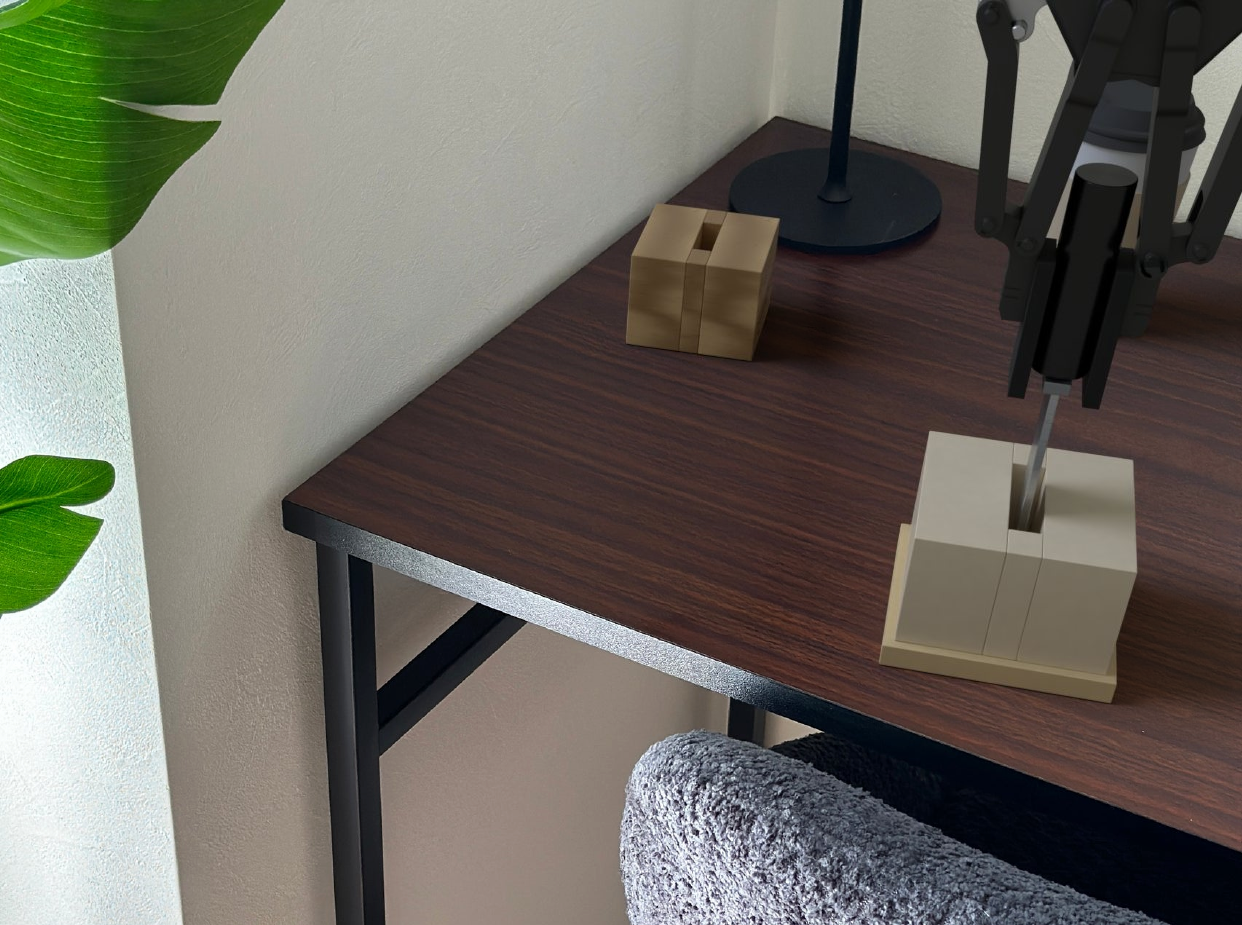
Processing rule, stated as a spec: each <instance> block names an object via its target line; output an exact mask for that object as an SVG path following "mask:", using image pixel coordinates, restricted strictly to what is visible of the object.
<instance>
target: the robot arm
mask: <svg viewBox="0 0 1242 925" xmlns="http://www.w3.org/2000/svg"><path fill="white" fill-rule="evenodd" d="M1045 6H1047V7H1048V9H1049V11H1050V14H1051V15H1052V17H1053V20H1054V22H1055V25H1056V26H1057V28H1058V30H1059V33H1060V34H1061V37H1062V39H1063V41H1064V43H1065V44H1066V47H1067V49H1068V52H1069V53H1070V56H1071V58H1072V61H1071V63H1070V66H1069V70H1068V74H1067V77H1066V80H1065V84H1064V86H1063V89H1062V92H1061V95H1060V97H1059V100H1058V103H1057V105H1056V109H1055V112H1054V113H1055V114H1053V117H1052V120H1051V122H1050V125H1049V128H1048V129H1047V130H1048V131H1047V134H1046V136H1045V139H1044V142H1043V144H1042V146H1041V150H1040V152H1039V155H1038V158H1037V161H1036V164H1035V166H1034V169H1033V171H1032V174H1031V177H1030V180H1029V182H1028V185H1027V188H1026V191H1025V193H1024V196H1023V199H1022V201H1021V204H1020V205H1019V204H1016V203H1014V202H1012V201H1010V200H1008V199H1007V190H1008V179H1009V168H1010V167H1009V166H1010V157H1011V148H1012V147H1011V146H1012V137H1013V136H1012V135H1013V128H1014V127H1013V126H1014V114H1015V105H1016V94H1017V83H1018V74H1019V73H1018V72H1019V63H1020V62H1019V61H1020V47H1021V43H1023V42H1025V41H1027V40H1028V39H1030V38H1031V37H1032V35H1033V34H1034V31H1035V26H1036V16H1037V14H1038V13H1039V11H1040V10H1041V9H1042V8H1043V7H1045ZM975 21H976V25H977V29H978V33H979V36H980V40H981V43H982V46H983V50H984V54H985V57H986V60H987V64H986V65H987V67H986V78H985V88H984V89H985V92H984V101H983V102H984V103H983V112H982V113H983V115H982V127H981V137H980V138H981V140H980V148H979V149H980V150H979V161H978V174H977V187H976V198H975V208H974V209H975V211H974V224H973V226H974V230H975V232H976V234H977V235H978V236H979V237H981V238H985V239H991V238H992V239H994V240H997V241H998V242H1001V243H1002V244H1004V245H1005V246H1006V248H1007V249H1008V251H1009V252H1008V257H1007V258H1008V259H1007V262H1006V266H1005V271H1004V276H1003V281H1002V285H1001V289H1000V293H999V304H998V311H999V315H1000V320H1002V321H1008V322H1009V321H1010V322H1016V323H1019V325H1018V329H1017V333H1016V338H1015V342H1014V346H1013V351H1012V356H1011V360H1010V365H1009V369H1008V379H1007V380H1008V381H1007V393H1006V397H1007V398H1014V399H1021V400H1025V397H1026V393H1027V389H1028V386H1029V380H1030V376H1031V371H1032V369H1033V368H1032V364H1033V359H1034V355H1035V351H1036V347H1037V343H1038V338H1039V334H1040V330H1041V326H1042V322H1043V317H1044V313H1045V309H1046V305H1047V301H1048V296H1049V292H1050V288H1051V284H1052V280H1053V275H1054V271H1055V267H1056V249H1057V239H1054V238H1046V237H1047V234H1048V231H1049V229H1050V226H1051V223H1052V221H1053V218H1054V216H1055V213H1056V210H1057V208H1058V205H1059V202H1060V200H1061V197H1062V194H1063V192H1064V189H1065V187H1066V184H1067V181H1068V179H1069V176H1070V173H1071V171H1072V168H1073V166H1074V163H1075V160H1076V158H1077V155H1078V152H1079V150H1080V147H1081V144H1082V142H1083V139H1084V137H1085V134H1086V131H1087V129H1088V126H1089V123H1090V121H1091V118H1092V116H1093V113H1094V110H1095V108H1096V107H1097V106H1098V104H1099V101H1100V99H1101V96H1102V94H1103V91H1104V89H1105V86H1106V83H1107V82H1116V81H1123V80H1130V79H1134V80H1137V81H1139V82H1142V83H1144V84H1147V85H1149V86H1152V87H1154V97H1153V105H1152V113H1151V122H1150V130H1149V138H1148V146H1147V155H1146V163H1145V171H1144V179H1143V188H1142V196H1141V204H1140V213H1139V221H1138V229H1137V243H1136V246H1135V250H1134V249H1133V248H1125V247H1121V249H1120V253H1119V257H1118V261H1117V264H1116V267H1115V271H1114V275H1113V279H1112V283H1111V286H1110V290H1109V294H1108V298H1107V302H1106V306H1105V309H1104V313H1103V317H1102V321H1101V325H1100V328H1099V332H1098V336H1097V340H1096V344H1095V348H1094V351H1093V355H1092V359H1091V363H1090V367H1089V370H1088V373H1087V374H1086V375H1085V376H1084V377H1082V378H1081V408H1082V409H1083V408H1084V409H1090V410H1097V411H1098V410H1100V409H1101V408H1100V407H1101V404H1102V400H1103V397H1104V394H1105V389H1106V385H1107V381H1108V378H1109V374H1110V371H1111V367H1112V363H1113V359H1114V356H1115V353H1116V352H1115V351H1116V348H1117V345H1118V340H1119V337H1120V336H1123V337H1131V338H1137V339H1138V338H1139V339H1140V338H1141V337H1142V336H1143V334H1145V332H1146V330H1147V329H1148V327H1149V323H1150V320H1151V317H1152V316H1151V315H1152V312H1153V308H1154V306H1155V303H1156V302H1155V301H1156V298H1157V294H1158V291H1159V287H1160V284H1161V280H1162V279H1163V278H1164V277H1165V275H1167V273H1168V270H1169V268H1171V267H1173V266H1176V265H1179V264H1184V263H1191V264H1193V265H1201V266H1202V265H1204V264H1207V263H1209V262H1211V261H1212V260H1213V259H1214V258H1215V256H1216V255H1217V252H1218V249H1219V247H1220V245H1221V243H1222V240H1223V238H1224V235H1225V233H1226V232H1227V228H1228V226H1229V224H1230V222H1231V219H1232V217H1233V214H1234V213H1235V210H1236V207H1237V205H1238V203H1239V201H1240V198H1241V196H1242V84H1241V85H1240V87H1239V90H1238V93H1237V95H1236V97H1235V100H1234V102H1233V105H1232V107H1231V109H1230V112H1229V114H1228V117H1227V120H1226V122H1225V124H1224V126H1223V129H1222V131H1221V133H1220V136H1219V139H1218V141H1217V144H1216V146H1215V149H1214V151H1213V153H1212V155H1211V159H1210V161H1209V164H1208V165H1207V168H1206V171H1205V173H1204V175H1203V177H1202V180H1201V182H1200V185H1199V188H1198V190H1197V193H1196V195H1195V197H1194V200H1193V203H1192V205H1191V207H1190V210H1189V213H1188V214H1187V217H1186V220H1185V221H1183V222H1177V223H1173V217H1174V210H1175V202H1176V195H1177V187H1178V180H1179V172H1180V165H1181V157H1182V150H1183V143H1184V135H1185V128H1186V120H1187V114H1188V112H1189V106H1190V99H1191V92H1192V91H1193V83H1194V76H1196V75H1197V74H1198V73H1200V72H1201V71H1202V70H1203V69H1204V68H1205V67H1206V66H1207V65H1208V64H1210V62H1212V61H1213V60H1215V58H1216V57H1217V56H1218V55H1219V54H1220V53H1222V52H1223V51H1224V50H1225V49H1226V48H1227V47H1228V46H1230V44H1232V43H1233V42H1234V41H1235V40H1236V39H1237V38H1238V37H1239V36H1240V35H1241V34H1242V0H977V8H976V12H975Z"/></svg>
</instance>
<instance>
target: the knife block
mask: <svg viewBox="0 0 1242 925" xmlns="http://www.w3.org/2000/svg"><path fill="white" fill-rule="evenodd" d="M780 224H781V219H780V218H777V217H770V216H763V215H754V214H747V213H738V212H731V211H723V210H716V209H706V208H699V207H692V206H691V207H690V206H682V205H675V204H667V203H659V202H657V203H656V204H655V205H654V207H653V209H652V212H651V214H650V215H649V218H648V219H647V223H646V224H645V226H644V228H643V230H642V232H641V235H640V237H639V239H638V241H637V243H636V244H635V247H634V249H633V251H632V254H631V255H630V256H631V258H630V272H629V273H630V274H629V288H628V303H627V319H626V332H625V334H626V335H625V344H626V345H632V346H641V347H646V348H652V349H653V348H654V349H661V350H667V351H674V352H675V351H676V352H683V353H690V354H695V355H696V354H699V355H703V356H704V355H705V356H711V357H719V358H726V359H733V360H739V361H745V362H746V361H748V362H752V361H753V358H754V354H755V351H756V349H757V345H758V343H759V340H760V336H761V333H762V330H763V326H764V324H765V320H766V317H767V314H768V311H769V308H770V304H771V297H772V288H773V281H774V280H773V279H774V273H775V265H776V255H777V247H778V240H779V230H780Z"/></svg>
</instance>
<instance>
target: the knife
mask: <svg viewBox="0 0 1242 925" xmlns="http://www.w3.org/2000/svg"><path fill="white" fill-rule="evenodd" d="M1137 184H1138V176H1137V175H1136V174H1135V173H1134V172H1133V171H1131V170H1129V169H1127V168H1124V167H1122V166H1118V165H1114V164H1108V163H1087V164H1083V165H1081V166H1079V167H1077V168H1076V170H1075V173H1074V177H1073V181H1072V186H1071V190H1070V194H1069V198H1068V202H1067V207H1066V211H1065V215H1064V219H1063V223H1062V228H1061V232H1060V236H1059V240H1058V245H1057V249H1056V267H1055V271H1054V275H1053V280H1052V284H1051V288H1050V292H1049V296H1048V301H1047V305H1046V309H1045V313H1044V317H1043V322H1042V326H1041V330H1040V334H1039V338H1038V343H1037V347H1036V351H1035V355H1034V359H1033V364H1032V368H1031V369H1032V370H1034V372H1036V373H1037V374H1039V375H1041V376H1042V380H1041V381H1042V382H1041V383H1042V384H1041V393H1042V394H1043V397H1042V401H1041V405H1040V410H1039V414H1038V418H1037V421H1036V426H1035V430H1034V434H1033V438H1032V442H1031V445H1032V446H1031V450H1030V454H1029V458H1028V462H1027V466H1026V470H1025V474H1024V478H1023V482H1022V486H1021V491H1020V495H1019V499H1018V503H1017V507H1016V517H1015V530H1018V531H1025V530H1026V527H1027V523H1028V519H1029V515H1030V511H1031V507H1032V503H1033V499H1034V495H1035V491H1036V487H1037V483H1038V479H1039V475H1040V471H1041V467H1042V463H1043V459H1044V455H1045V452H1046V448H1048V444H1049V439H1050V437H1051V436H1050V435H1051V431H1052V428H1053V423H1054V419H1055V416H1056V411H1057V409H1058V404H1059V401H1060V397H1067V398H1069V397H1070V395H1071V391H1072V387H1073V381H1077V380H1080V379H1082V377H1084V376H1085V375H1086V374H1087V373H1088V370H1089V367H1090V363H1091V359H1092V355H1093V351H1094V348H1095V344H1096V340H1097V336H1098V332H1099V328H1100V325H1101V321H1102V317H1103V313H1104V309H1105V306H1106V302H1107V298H1108V294H1109V290H1110V286H1111V283H1112V279H1113V275H1114V271H1115V267H1116V264H1117V261H1118V257H1119V253H1120V249H1121V245H1122V241H1123V238H1124V234H1125V230H1126V226H1127V222H1128V219H1129V215H1130V211H1131V207H1132V203H1133V200H1134V196H1135V192H1136V188H1137Z"/></svg>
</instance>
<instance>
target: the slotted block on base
mask: <svg viewBox="0 0 1242 925" xmlns="http://www.w3.org/2000/svg"><path fill="white" fill-rule="evenodd" d="M1031 446H1032V444H1025V443H1019V442H1010V441H1005V440H1004V441H1002V440H996V439H990V438H984V437H975V436H969V435H962V434H955V433H947V432H942V431H933V430H929V432H928V437H927V442H926V447H925V452H924V458H923V463H922V466H921V473H920V478H919V482H918V488H917V492H916V498H915V502H914V507H913V513H912V518H911V523H910V524H909V523H901V524H900V527H899V533H898V538H897V544H896V552H895V557H894V562H893V571H892V577H891V581H890V582H891V583H890V589H889V595H888V602H887V608H886V614H885V615H886V616H885V621H884V628H883V634H882V639H881V640H882V641H881V647H880V653H879V660H878V664H879V665H882V666H888V667H894V668H899V669H903V670H904V669H905V670H911V671H916V672H922V673H929V674H935V675H941V676H946V677H953V678H958V679H964V680H971V681H977V682H982V683H986V684H987V683H988V684H993V685H998V686H999V685H1000V686H1004V687H1005V686H1006V687H1011V688H1017V689H1024V690H1029V691H1034V692H1041V693H1047V694H1053V695H1059V696H1066V697H1071V698H1076V699H1083V700H1089V701H1095V702H1101V703H1105V704H1106V703H1107V704H1111V703H1112V701H1113V698H1114V695H1115V692H1116V688H1117V684H1118V682H1117V681H1118V678H1117V677H1118V676H1117V673H1118V672H1117V671H1118V670H1117V640H1118V638H1119V636H1120V635H1119V634H1120V631H1121V628H1122V624H1123V621H1124V618H1125V614H1126V611H1127V608H1128V605H1129V603H1130V602H1129V601H1130V599H1131V595H1132V592H1133V588H1134V585H1135V582H1136V579H1137V575H1138V556H1137V555H1138V554H1137V552H1138V550H1137V549H1138V548H1137V524H1136V523H1137V522H1136V520H1137V519H1136V496H1135V495H1136V494H1135V493H1136V492H1135V468H1134V465H1135V464H1134V460H1133V459H1129V458H1122V457H1114V456H1108V455H1100V454H1093V453H1086V452H1079V451H1073V450H1067V449H1059V448H1053V447H1047V448H1046V452H1045V455H1044V459H1043V463H1042V467H1041V471H1040V475H1039V479H1038V483H1037V487H1036V491H1035V495H1034V499H1033V503H1032V507H1031V511H1030V515H1029V519H1028V523H1027V527H1026V530H1025V531H1018V530H1015V517H1016V507H1017V503H1018V499H1019V495H1020V491H1021V486H1022V482H1023V478H1024V474H1025V470H1026V466H1027V462H1028V458H1029V454H1030V450H1031Z"/></svg>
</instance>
